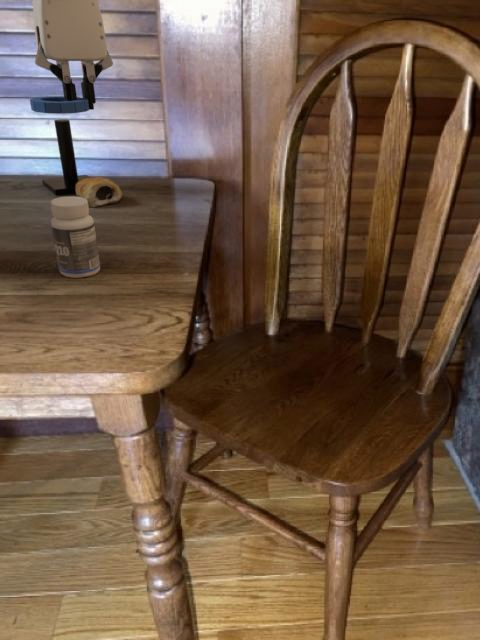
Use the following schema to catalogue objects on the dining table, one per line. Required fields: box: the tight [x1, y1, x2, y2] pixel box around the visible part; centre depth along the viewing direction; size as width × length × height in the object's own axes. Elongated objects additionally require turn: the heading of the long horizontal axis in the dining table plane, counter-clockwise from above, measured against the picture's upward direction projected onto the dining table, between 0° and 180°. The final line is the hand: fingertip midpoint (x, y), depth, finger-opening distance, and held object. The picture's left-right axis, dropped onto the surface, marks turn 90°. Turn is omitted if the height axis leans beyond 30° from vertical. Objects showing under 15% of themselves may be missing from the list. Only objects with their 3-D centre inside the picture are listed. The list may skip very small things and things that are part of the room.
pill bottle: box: [50, 195, 101, 279], centre depth 66 cm, size 5×5×8 cm
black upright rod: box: [41, 118, 92, 196], centre depth 98 cm, size 8×8×11 cm
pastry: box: [75, 176, 123, 208], centre depth 94 cm, size 9×7×4 cm
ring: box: [29, 95, 90, 115], centre depth 94 cm, size 9×9×2 cm
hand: (81, 108), depth 96 cm, fingers closed on ring, 2 cm apart
